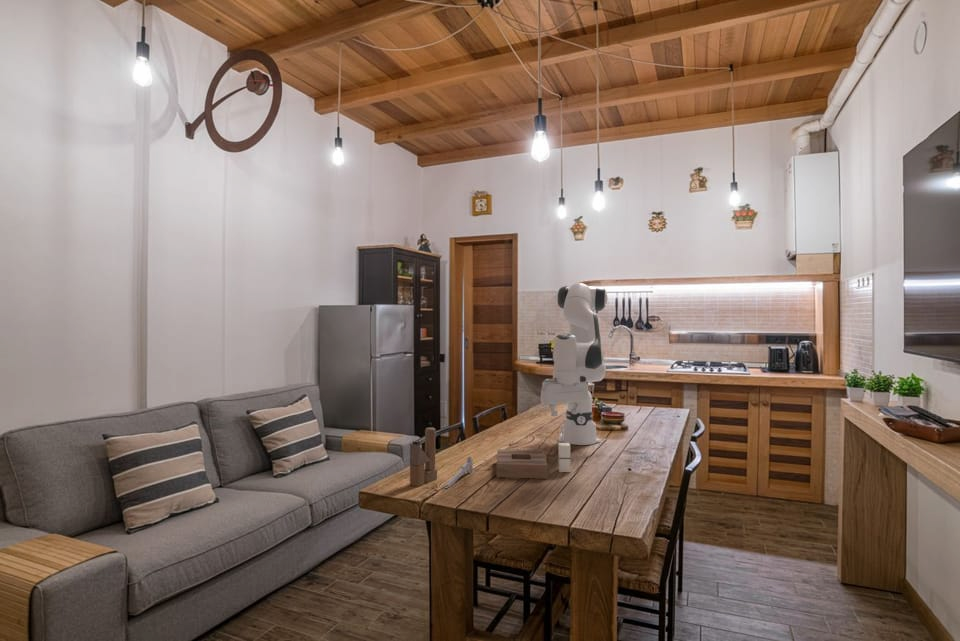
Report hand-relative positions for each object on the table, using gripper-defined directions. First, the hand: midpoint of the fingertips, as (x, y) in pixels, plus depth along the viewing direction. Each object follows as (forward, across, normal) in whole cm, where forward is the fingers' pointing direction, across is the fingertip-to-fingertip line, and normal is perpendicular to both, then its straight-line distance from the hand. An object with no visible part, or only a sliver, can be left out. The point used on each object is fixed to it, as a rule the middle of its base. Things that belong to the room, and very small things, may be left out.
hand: (564, 414), depth 189 cm
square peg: (+21, 0, 0) cm, 21 cm away
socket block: (+21, -13, +9) cm, 26 cm away
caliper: (+22, -39, +10) cm, 45 cm away
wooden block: (+22, -50, +14) cm, 56 cm away
